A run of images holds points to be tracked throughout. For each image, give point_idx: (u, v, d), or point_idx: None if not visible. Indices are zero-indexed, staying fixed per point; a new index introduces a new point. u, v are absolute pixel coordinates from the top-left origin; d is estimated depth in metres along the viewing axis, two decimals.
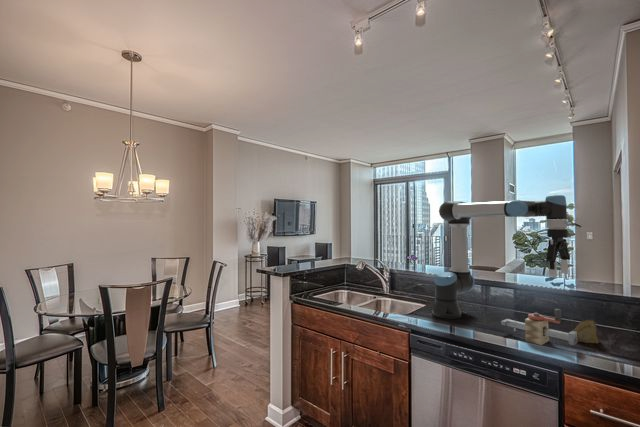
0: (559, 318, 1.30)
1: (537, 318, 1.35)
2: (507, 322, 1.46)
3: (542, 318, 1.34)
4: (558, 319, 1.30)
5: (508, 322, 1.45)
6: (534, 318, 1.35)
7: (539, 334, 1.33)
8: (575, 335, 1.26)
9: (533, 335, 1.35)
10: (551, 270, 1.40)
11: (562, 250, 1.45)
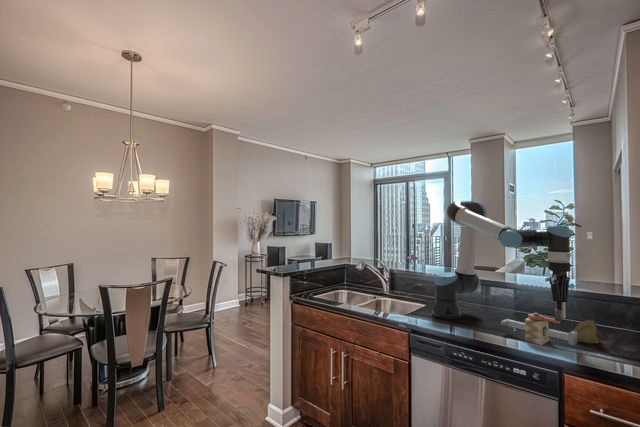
0: (559, 318, 1.30)
1: (537, 318, 1.35)
2: (507, 322, 1.46)
3: (542, 318, 1.34)
4: (558, 319, 1.30)
5: (508, 322, 1.45)
6: (534, 318, 1.35)
7: (539, 334, 1.33)
8: (575, 335, 1.26)
9: (533, 335, 1.35)
10: None
11: None
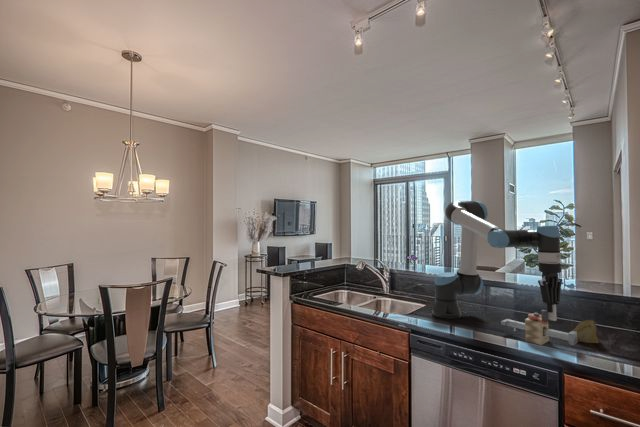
0: (543, 319, 1.29)
1: (531, 317, 1.37)
2: (507, 322, 1.46)
3: (536, 318, 1.35)
4: (542, 320, 1.29)
5: (508, 322, 1.45)
6: (529, 316, 1.38)
7: (539, 334, 1.33)
8: (575, 335, 1.26)
9: (533, 335, 1.35)
10: (549, 313, 1.29)
11: (553, 288, 1.29)
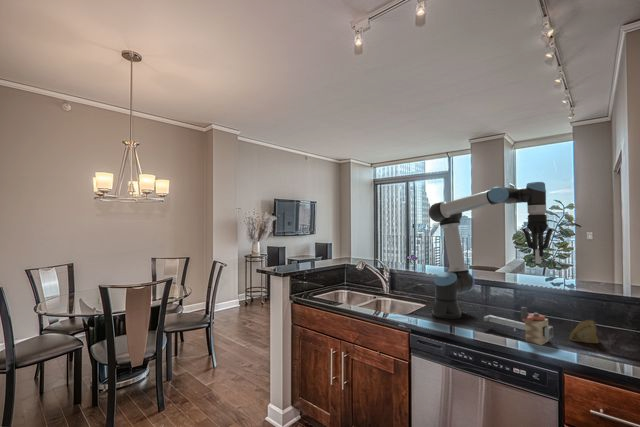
0: (521, 315, 1.35)
1: None
2: (489, 318, 1.53)
3: None
4: None
5: (490, 318, 1.52)
6: None
7: (539, 334, 1.33)
8: (551, 329, 1.33)
9: (533, 335, 1.35)
10: None
11: None
